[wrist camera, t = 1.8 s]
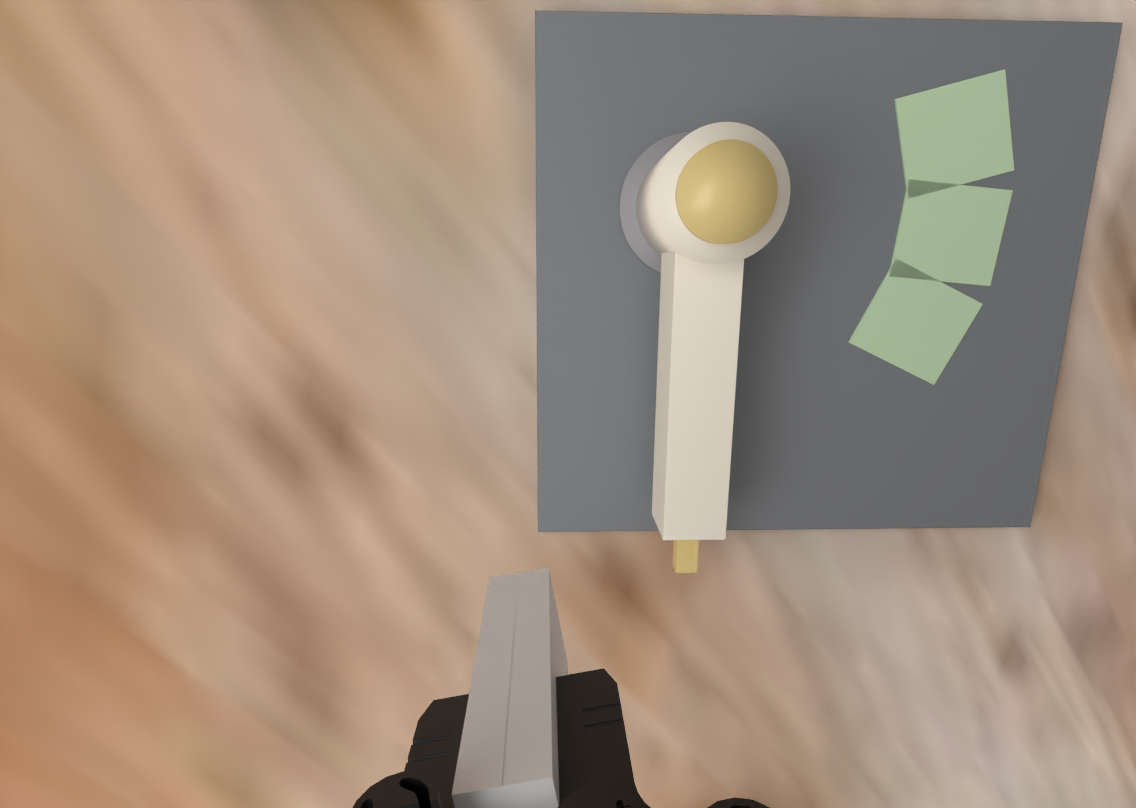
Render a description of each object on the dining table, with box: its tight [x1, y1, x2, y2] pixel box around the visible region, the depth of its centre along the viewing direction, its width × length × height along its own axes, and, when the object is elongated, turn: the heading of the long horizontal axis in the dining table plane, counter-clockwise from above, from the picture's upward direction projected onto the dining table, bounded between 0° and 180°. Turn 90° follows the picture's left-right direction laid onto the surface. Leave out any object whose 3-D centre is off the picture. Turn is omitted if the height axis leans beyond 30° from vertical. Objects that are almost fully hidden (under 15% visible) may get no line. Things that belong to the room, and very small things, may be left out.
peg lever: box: [636, 122, 790, 573], centre depth 27 cm, size 19×5×6 cm, turn 0°
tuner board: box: [535, 11, 1122, 532], centre depth 30 cm, size 24×26×2 cm
